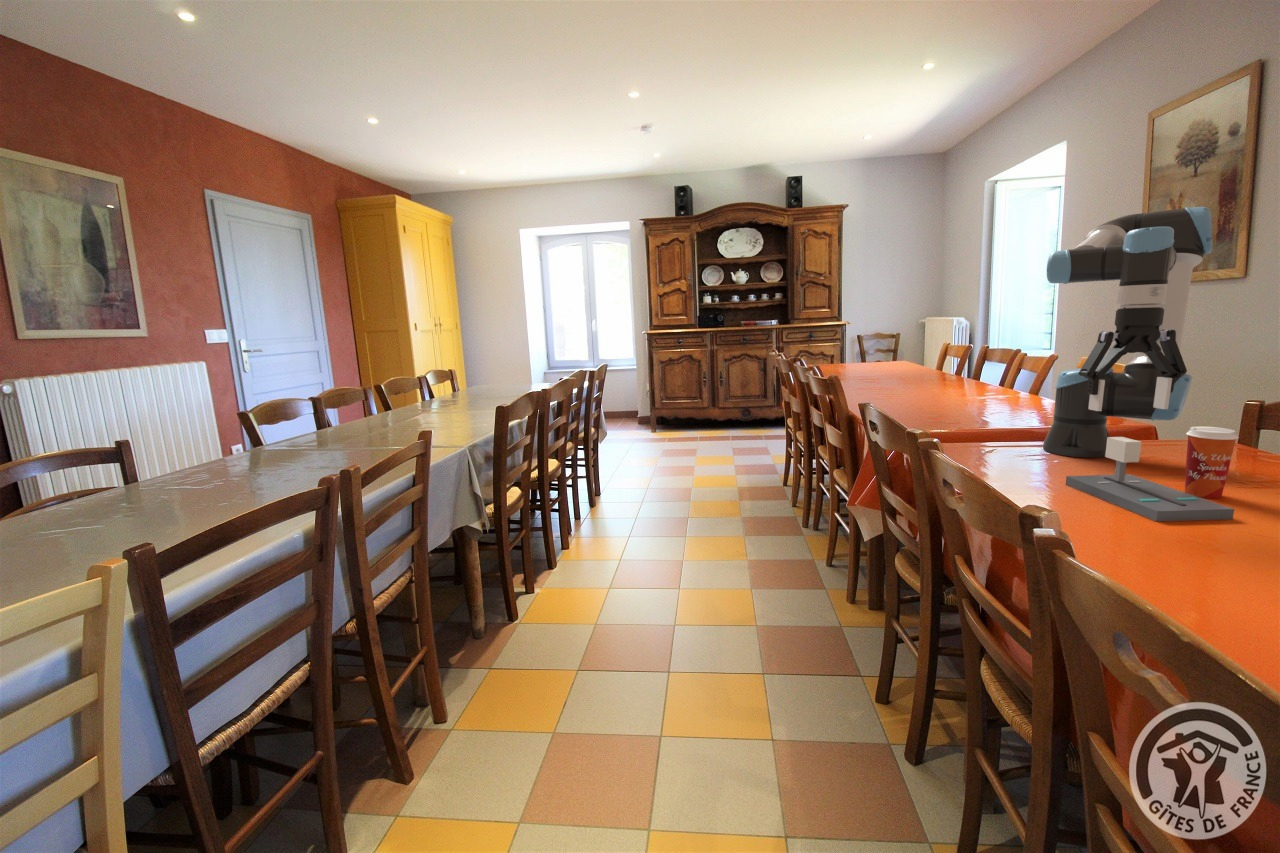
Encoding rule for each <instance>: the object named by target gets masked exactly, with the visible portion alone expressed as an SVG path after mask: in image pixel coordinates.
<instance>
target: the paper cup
mask: <svg viewBox="0 0 1280 853" xmlns="http://www.w3.org/2000/svg"><path fill="white" fill-rule="evenodd" d="M1185 435H1187V445H1186V446H1187V448H1186V457H1185V458H1186V459H1185V480H1184V481H1185V482H1184V492H1185V493H1188V494H1191V495H1194V496H1197V497H1200V498H1203V499H1221V498H1222V496H1223V493H1224V489H1225V485H1226V482H1227V477H1228V473H1229V470H1230V465H1231V461H1232V457H1233V452H1234V449H1235V446H1236V440H1238V439H1239V438H1240V437H1239V436H1238V432H1236V430H1234V429H1230V428H1227V427H1226V428H1225V427H1218V426H1216V427H1215V426H1191V427H1189V430H1188V431H1187V432H1186V433H1185Z"/></svg>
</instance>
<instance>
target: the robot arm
mask: <svg viewBox="0 0 1280 853" xmlns="http://www.w3.org/2000/svg"><path fill="white" fill-rule="evenodd" d="M1212 230H1213V228H1212V211H1211V209H1210V208H1209V207H1207V206H1195V207H1193V206H1192V207H1187V206H1186V207H1184V208H1183V207H1182V208H1176V209H1167V210H1160V211H1158V210H1157V211H1150V212H1142V213H1133V214H1128V215H1124V216H1120V217H1117V218H1114V219H1112V220H1109V221H1107V222H1104V223H1101V224H1099V225H1097V226H1096V227H1094V228H1093V229H1092V230H1090V231H1089V232H1088V233H1087V234H1086V236H1085V237H1084V238H1083V240H1082V242H1080V243H1079V244H1078V245H1076V246H1075V247H1074V248H1073V249H1067V248H1065V249H1063V250H1054V251H1053V252H1051V253H1050V254H1049V256H1048V259H1047V263H1046V279H1047V281H1048V282H1049V283H1050V284H1063V285H1067V284H1071V283H1072V284H1074V283H1089V282H1109V281H1119V286H1118V290H1117V291H1118V292H1117V300H1116V306H1118V307H1119V308H1117V310H1116V311H1115V318H1114V326H1115V327H1116V328H1115V332H1113V331H1100V332H1099V333H1098V336H1097V342H1096V344H1095V345H1094V347H1093V348H1092V350H1091V352H1090V353H1089V355H1088V357H1087V358H1086V360H1085V361H1084V363H1083V365H1082V367H1080V368H1071V369H1065V370H1063V371H1061V372H1060V373H1059V374H1058V376H1057V377H1058V378H1057V382H1056V386H1055V397H1054V398H1055V399H1054V400H1055V402H1054V412H1053V421H1052V424H1051V427H1049V429H1048V432H1047V434H1046V437H1045V438H1044V440H1043V443H1042V444H1043V446H1042V450H1044V451H1045V452H1048V453H1051V454H1055V455H1059V456H1060V455H1061V456H1066V457H1074V458H1075V457H1076V458H1086V459H1087V458H1090V459H1091V458H1092V459H1094V458H1096V459H1097V458H1099V459H1100V458H1106V457H1105V453H1106V445H1107V437H1110V434H1109V431H1108V426H1107V421H1108V417H1111V418H1113V417H1114V418H1127V419H1139V420H1140V419H1141V420H1142V419H1143V420H1150V421H1173V420H1176V419H1178V418H1179V417H1180V415H1181V413H1182V411H1183V409H1184V406H1185V403H1186V401H1187V397H1188V394H1189V391H1190V386H1191V384H1192V379H1193V376H1192V375H1191V374H1189V373H1187V371H1188V370H1187V366H1186V365H1185V361H1184V359H1183V356H1182V354H1181V346H1182V339H1183V334H1184V327H1185V326H1184V325H1185V320H1186V313H1187V308H1188V301H1189V294H1190V289H1191V288H1190V287H1191V283H1192V276H1193V275H1192V274H1193V270H1194V268H1195V267H1197V266H1198V265H1199V264H1201V263H1203V260H1204V259H1203V258H1204V255H1205V256H1206V255H1209V254H1211V253H1212V251H1213V249H1212V248H1213V244H1212V243H1213V242H1212V232H1213V231H1212ZM1113 342H1115V343H1114V344H1113V345H1112V343H1113ZM1126 354H1134V355H1133V359H1132V360H1130V362H1127V363H1126V364H1125V365H1124V370H1123V372H1114V368H1113V367H1114V365H1115V364H1117V362H1118V361H1119V360H1120V359H1121V358H1122V357H1123V356H1126Z"/></svg>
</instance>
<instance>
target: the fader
mask: <svg viewBox="0 0 1280 853" xmlns="http://www.w3.org/2000/svg"><path fill="white" fill-rule="evenodd" d="M1141 449H1142V441H1140V440H1136V439H1132V438H1128V437H1125V436H1109V437H1107V445H1106V453H1105V457H1104V458H1107V459H1111V460H1114V461H1115V470H1114V475H1115V476H1114V480H1116V481H1124V478H1125V474H1126V469H1127V463H1139V462H1140V456H1141Z"/></svg>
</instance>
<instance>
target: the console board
mask: <svg viewBox="0 0 1280 853" xmlns="http://www.w3.org/2000/svg"><path fill="white" fill-rule="evenodd" d="M1114 476H1115V474H1095V475H1094V474H1093V475H1091V474H1090V475H1066V478H1065V485H1066V486H1068V487H1071V488H1072V489H1076V490H1077V491H1081V492H1083V493H1086V494H1087V495H1090V496H1092V497H1094V498H1095V497H1096V498H1098V499H1100V500H1102V501H1105V502H1107V503H1110V504H1112V505H1115V506H1117V507H1120V508H1121V509H1125V510H1128V511H1130V512H1132V513H1135V514H1137V515H1139V516H1141V517H1145V518H1147V519H1149V520H1152V521H1154V522H1180V521H1181V522H1183V521H1185V522H1187V521H1213V520H1214V521H1215V520H1216V521H1217V520H1220V521H1221V520H1233V519H1234V515H1235V514H1234V513H1235V508H1233V507H1229V506H1226V505H1223V504H1221V503H1218V502H1214V501H1212V500H1208V499H1207V498H1202V497H1197V496H1194V495H1191V494H1188V493H1185V491H1181V490H1178V489H1175V488H1172V487H1169V486H1166V485H1163V484H1159V483H1157V482H1155V481H1151V480H1149V479H1147V478H1146V479H1145V478H1142V477H1139V476H1136V475H1133V474H1130V473H1125V478H1124V481H1116V480H1114Z"/></svg>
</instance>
